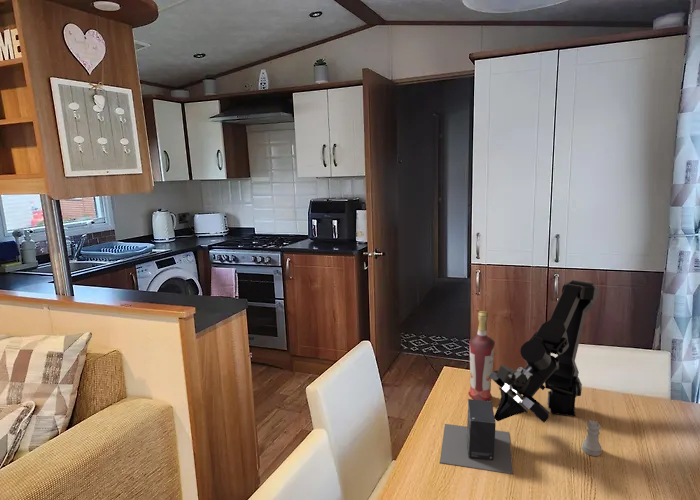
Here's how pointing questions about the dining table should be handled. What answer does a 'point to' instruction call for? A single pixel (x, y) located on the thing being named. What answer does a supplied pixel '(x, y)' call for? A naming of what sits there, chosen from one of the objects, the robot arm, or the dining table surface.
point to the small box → (480, 429)
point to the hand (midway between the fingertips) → (495, 419)
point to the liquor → (481, 361)
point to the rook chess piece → (592, 439)
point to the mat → (457, 455)
